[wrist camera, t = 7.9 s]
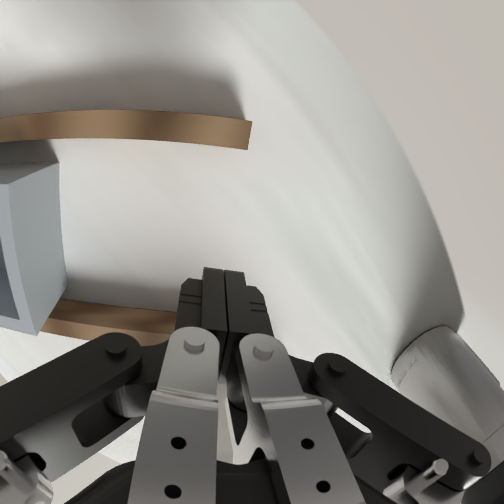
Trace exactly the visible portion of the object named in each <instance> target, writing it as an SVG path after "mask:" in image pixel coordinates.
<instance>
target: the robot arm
mask: <svg viewBox="0 0 504 504" xmlns="http://www.w3.org/2000/svg"><path fill="white" fill-rule="evenodd" d="M217 378H218V384H227V394H226V398H225V409H226V414H227V420H228V426H229V432H230V437H231V443H232V448H233V462H232V464H231V463H227V462H223V461H219V460H217V432H218V400H216V395H217ZM391 378H392V381H393V382H394V384H395V386H396V387H397V389H398V391H399V392H400V393H399V392H397V391H395V390H394V389H392V388H391V387H389V386H388V385H386V384H385V383H383V382H382V381H380V380H378V379H377V378H375V377H374V376H372V375H371V374H369V373H368V372H366V371H365V370H363V369H362V368H360V367H359V366H357V365H356V364H354V363H353V362H351V361H350V360H348V359H347V358H345V357H343V356H341V355H338V354H334V353H324V354H321V355H319V356H318V357H317V358H316V359H315V361H314V363H313V362H309V361H306V360H302V359H298V358H295V357H292V356H290V355H288V353H287V350H286V348H285V346H284V345H283V344H282V343H281V342H280V341H279V340H278V339H276V338H274V334H273V331H272V327H271V323H270V319H269V315H268V313H267V308H266V305H265V300H264V296H263V294H262V293H261V292H260V291H259V290H258V289H257V288H256V287H254V286H246V282H245V276H244V272H237V271H230V270H224V272H223V270H222V269H215V268H207V267H204V269H203V275H202V280H199V279H191V278H188V279H187V280H186V281H185V282H184V283H183V284H182V285H181V291H180V297H179V303H178V310H177V316H176V323H175V329H174V332H173V333H172V335H171V336H170V338H169V339H168V340H166V341H165V342H163V343H160V344H157V345H150V346H140V344H139V342H138V341H137V340H136V339H135V338H133V337H132V336H130V335H128V334H125V333H120V332H111V333H106V334H103V335H101V336H99V337H97V338H95V339H93V340H91V341H89V342H87V343H85V344H83V345H81V346H79V347H77V348H75V349H73V350H71V351H69V352H67V353H65V354H63V355H62V356H60V357H58V358H56V359H54V360H52V361H50V362H48V363H46V364H44V365H42V366H40V367H38V368H36V369H34V370H32V371H30V372H28V373H26V374H24V375H22V376H20V377H18V378H16V379H14V380H12V381H10V382H8V383H6V384H4V385H2V386H0V504H51V502H52V499H53V489H52V485H51V482H53V481H54V480H56V479H57V478H59V477H61V476H62V475H64V474H65V473H67V472H68V471H70V470H71V469H73V468H74V467H76V466H77V465H79V464H80V463H82V462H83V461H85V460H86V459H88V458H89V457H91V456H92V455H94V454H95V453H97V452H98V451H100V450H101V449H102V448H104V447H105V446H107V445H108V444H110V443H111V442H112V441H114V440H115V439H117V438H118V437H119V436H121V435H122V434H123V433H125V432H126V431H128V430H129V429H130V428H132V427H133V426H134V425H136V424H137V423H138V422H140V421H141V420H142V419H143V417H144V416H145V421H144V425H143V429H142V434H141V438H140V442H139V447H138V452H137V456H136V460H135V461H131V462H127V463H124V464H121V465H119V466H116V467H115V468H113V469H111V470H109V471H107V472H106V473H104V474H103V475H102V476H101V477H99V478H98V479H97V480H95V481H94V482H93V483H91V484H90V485H89V486H87V487H86V488H85V489H83V490H82V491H81V492H79V493H78V494H77V495H76V496H74V497H73V498H71V499H70V500H69V501H67V502H66V503H64V504H460V503H461V504H504V391H503V389H502V388H501V387H500V383H499V381H498V380H497V379H496V377H495V376H494V375H493V374H492V372H491V371H490V370H489V369H488V368H487V367H486V365H485V364H484V363H483V362H482V361H481V359H480V358H479V357H478V356H477V355H476V354H475V352H474V351H473V350H472V349H471V348H470V347H469V346H468V345H467V343H466V342H465V341H464V340H463V339H462V338H461V337H460V336H459V335H458V334H455V333H454V332H453V330H452V329H450V328H449V327H446V326H441V327H437V328H434V329H432V330H430V331H428V332H426V333H424V334H423V335H421V336H420V337H419V338H417V339H416V340H415V341H414V342H412V343H411V344H410V345H409V346H408V347H407V348H406V349H405V350H404V352H403V353H402V354H401V355H400V357H399V358H398V360H397V361H396V363H395V365H394V367H393V369H392V373H391ZM338 407H339V408H340V409H341V410H343V411H344V412H346V413H347V414H349V415H350V416H351V417H353V418H354V419H356V420H357V421H359V422H360V423H361V424H363V425H364V426H366V427H367V428H369V429H370V431H371V433H365V432H363V431H361V430H360V429H358V428H357V427H355V426H354V425H352V424H351V423H349V422H348V421H347V420H345V419H344V418H342V417H341V416H340V415H338V414H337V413H335V411H336V410H337V408H338Z"/></svg>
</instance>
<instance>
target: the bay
mask: <svg viewBox="0 0 504 504" xmlns="http://www.w3.org/2000/svg"><path fill="white" fill-rule="evenodd" d="M251 126H252V121H247V120H241V119H234V118H226V117H218V116H210V115H201V114H191V113H179V112H165V111H146V110H77V111H59V112H46V113H35V114H26V115H18V116H11V117H4V118H0V142H10V141H23V140H38V139H63V138H114V139H140V140H158V141H171V142H183V143H194V144H204V145H213V146H221V147H229V148H237V149H244V150H247V149H248V143H249V138H250V132H251ZM176 316H177V312H167V311H156V310H146V309H137V308H128V307H119V306H111V305H103V304H95V303H88V302H81V301H74V300H67V299H61V298H60V299H59V300H58V302H57V303H56V305H55V307H54V308H53V310H52V311H51V313H50V315H49V316H48V318H47V320H46V321H45V323H44V325H43V326H42V328H41V330H40V331H42V332H47V333H52V334H57V335H62V336H67V337H72V338H78V339H84V340H90V341H91V340H93V339H95V338H97V337H99V336H101V335H103V334H106V333H111V332H120V333H125V334H128V335H130V336H132V337H133V338H135V339H136V340H137V341H138V342H139V344H140V346H150V345H157V344H160V343H163V342H165V341H166V340H168V339H169V338H170V336H171V335H172V333H173V332H174V329H175V323H176Z"/></svg>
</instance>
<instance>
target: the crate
mask: <svg viewBox="0 0 504 504" xmlns="http://www.w3.org/2000/svg"><path fill="white" fill-rule="evenodd" d="M67 287H68V282H67V276H66V269H65V261H64V253H63V244H62V233H61V220H60V199H59V163H12V164H0V327H3V328H7V329H11V330H15V331H18V332H22V333H27V334H31V335H35V336H37V335H38V333H39V331H40V330H41V328H42V326H43V325H44V323H45V321H46V320H47V318H48V316H49V315H50V313H51V311H52V310H53V308H54V307H55V305H56V303H57V302H58V300H59V299H60V297H61V296H62V294H63V293H64V291H65V290H66V288H67Z"/></svg>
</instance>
